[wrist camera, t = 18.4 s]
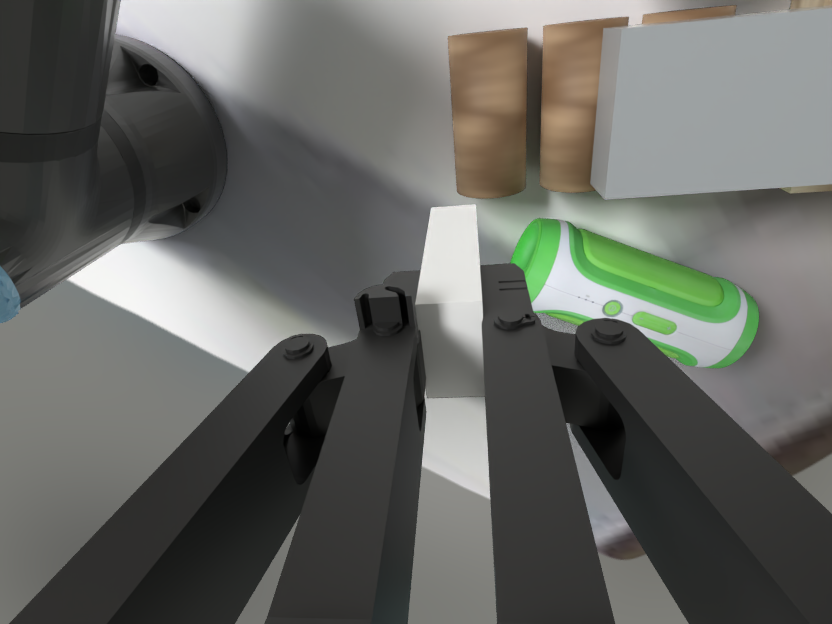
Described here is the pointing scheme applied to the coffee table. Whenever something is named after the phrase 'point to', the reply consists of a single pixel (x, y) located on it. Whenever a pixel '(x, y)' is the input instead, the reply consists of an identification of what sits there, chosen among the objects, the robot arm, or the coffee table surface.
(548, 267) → the speaker
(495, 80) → the roller bed
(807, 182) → the slab
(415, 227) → the coffee table surface
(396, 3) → the coffee table surface
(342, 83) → the coffee table surface
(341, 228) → the coffee table surface
